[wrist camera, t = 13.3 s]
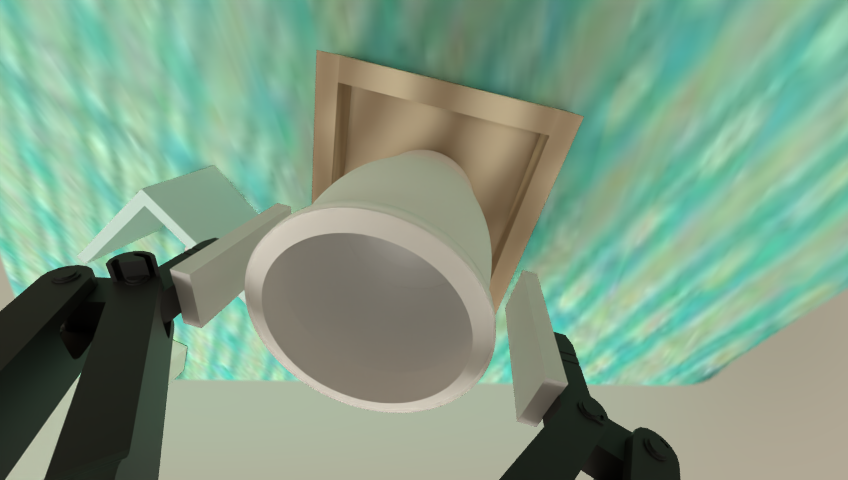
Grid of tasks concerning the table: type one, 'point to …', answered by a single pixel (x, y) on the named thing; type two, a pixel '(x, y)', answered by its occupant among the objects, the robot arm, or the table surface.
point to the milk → (38, 455)
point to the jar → (380, 286)
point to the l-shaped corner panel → (176, 213)
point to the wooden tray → (444, 142)
